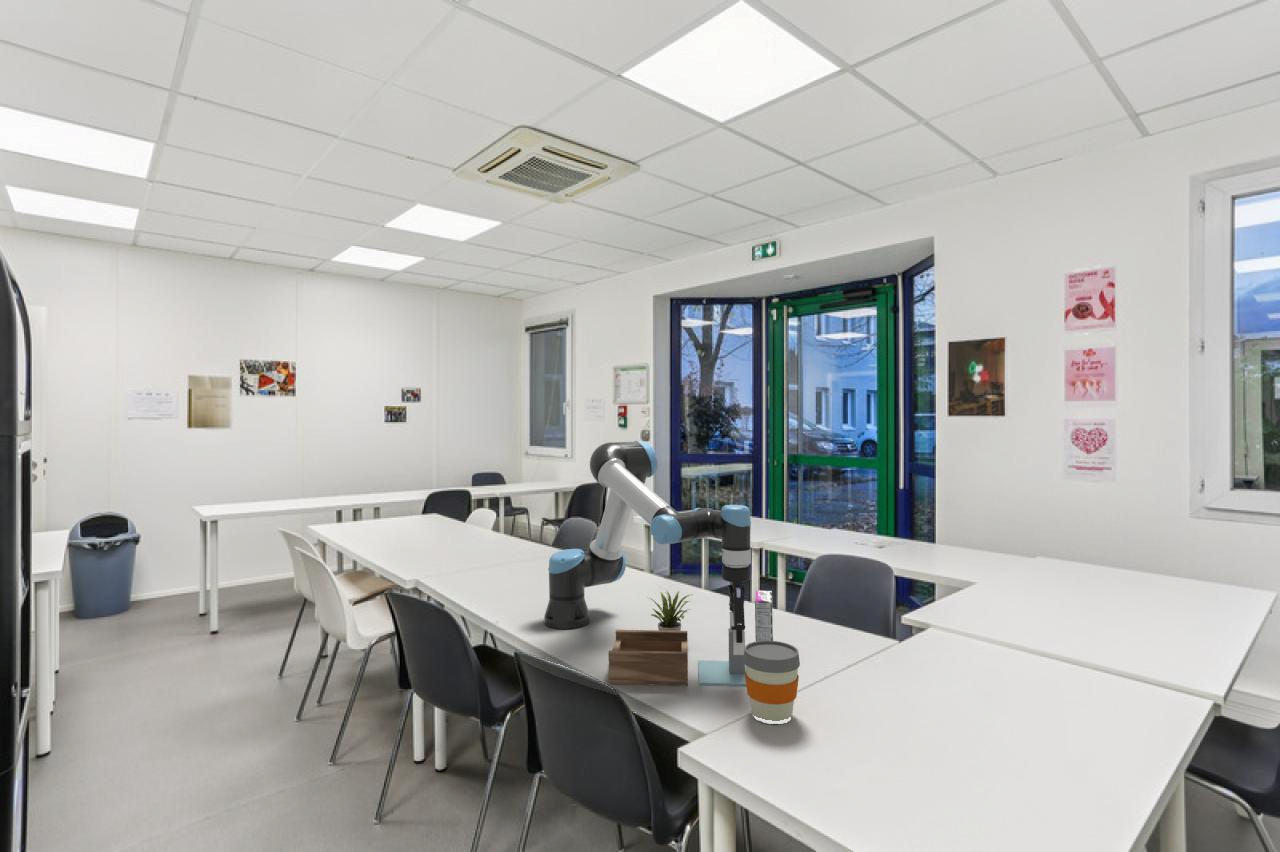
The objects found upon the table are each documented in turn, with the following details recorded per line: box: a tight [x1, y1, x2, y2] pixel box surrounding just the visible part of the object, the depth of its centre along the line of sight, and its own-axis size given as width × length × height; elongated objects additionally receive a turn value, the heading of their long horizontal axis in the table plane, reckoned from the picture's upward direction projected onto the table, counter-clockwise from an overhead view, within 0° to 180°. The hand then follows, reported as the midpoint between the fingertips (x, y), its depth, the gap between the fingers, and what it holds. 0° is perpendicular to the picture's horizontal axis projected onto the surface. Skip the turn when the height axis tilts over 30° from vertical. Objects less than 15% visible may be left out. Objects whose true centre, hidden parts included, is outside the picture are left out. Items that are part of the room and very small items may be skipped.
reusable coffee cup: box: [743, 640, 801, 721], centre depth 144 cm, size 13×12×15 cm
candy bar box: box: [754, 590, 774, 642], centre depth 182 cm, size 11×5×16 cm, turn 168°
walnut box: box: [608, 629, 689, 687], centre depth 169 cm, size 17×20×8 cm
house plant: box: [647, 589, 694, 631], centre depth 188 cm, size 14×14×16 cm
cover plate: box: [697, 627, 746, 687], centre depth 167 cm, size 15×20×12 cm
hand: (736, 644), depth 167 cm, fingers open, 13 cm apart
